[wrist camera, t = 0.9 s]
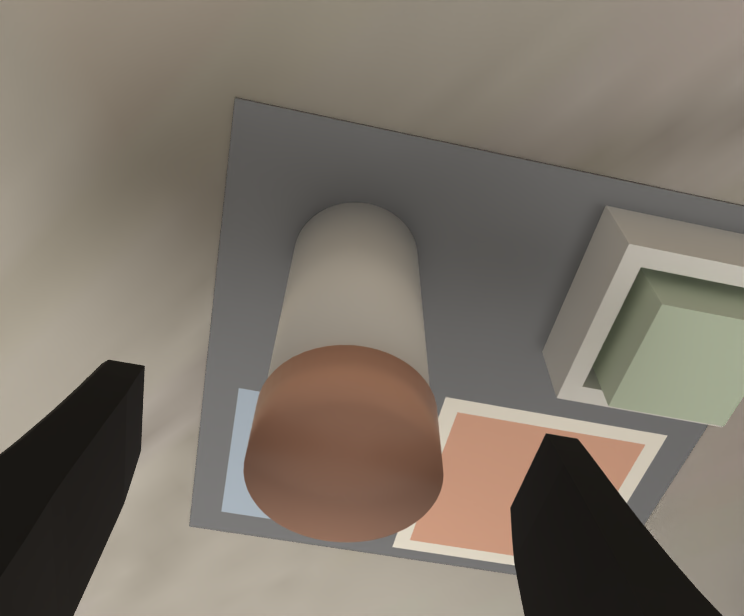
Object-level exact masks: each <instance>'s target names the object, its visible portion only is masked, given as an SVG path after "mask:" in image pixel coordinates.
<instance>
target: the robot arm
mask: <svg viewBox="0 0 744 616" xmlns="http://www.w3.org/2000/svg"><path fill="white" fill-rule="evenodd" d="M144 369H145V366H143V365H137V364H131V363H125V362H119V361H113V360H107V361H106V362H104V363H102V364H101V365H100V366H99V367H98V368H97V369H96V370H95V371H94V372H93V373H92V374H91V375H90V376H89V377H88V378H87V379H86V380H85V381H84V382H83V383H82V384H81V385H80V386H79V387H77V388H76V389H75V390H74V391H73V392H72V393H71V394H70V395H69V396H68V397H67V398H66V399H65V400H63V401H62V402H61V403H60V404H59V405H58V406H57V407H56V408H55V409H54V410H52V411H51V412H50V413H49V414H48V415H47V416H46V417H44V418H43V419H42V420H41V421H40V422H39V423H37V424H36V425H35V426H34V427H33V428H32V429H30V430H29V431H28V432H27V433H26V434H25V435H23V436H22V437H21V438H20V439H19V440H17V441H16V442H15V443H14V444H13V445H11V446H10V447H9V448H7V449H6V450H5V451H4V452H2V453H1V454H0V616H73V615H74V613H75V611H76V609H77V607H78V604H79V602H80V600H81V598H82V596H83V594H84V591H85V589H86V587H87V585H88V583H89V580H90V578H91V576H92V574H93V572H94V569H95V567H96V565H97V563H98V561H99V558H100V556H101V554H102V552H103V550H104V547H105V545H106V543H107V541H108V539H109V536H110V534H111V532H112V530H113V527H114V525H115V523H116V521H117V519H118V516H119V514H120V512H121V509H122V507H123V505H124V502H125V499H126V496H127V493H128V490H129V487H130V484H131V481H132V478H133V474H134V471H135V468H136V465H137V462H138V458H139V455H140V452H141V437H142V414H143V392H144ZM510 513H511V530H512V544H513V556H514V564H515V569H516V575H517V580H518V585H519V590H520V595H521V600H522V605H523V610H524V614H525V616H722V615H721V614H720V613H719V612H718V610H717V609H716V608H715V607H714V606H713V605H712V604H711V603H710V602H709V601H708V600H707V599H706V598H705V597H704V596H703V595H702V594H701V592H700V591H699V590H698V589H697V588H696V587H695V586H694V585H693V583H692V582H691V581H690V580H689V579H688V578H687V577H686V575H685V574H684V573H683V572H682V571H681V570H680V568H679V567H678V566H677V565H676V564H675V563H674V562H673V560H672V559H671V558H670V557H669V556H668V554H667V553H666V552H665V551H664V550H663V548H662V547H661V546H660V545H659V544H658V542H657V541H656V540H655V539H654V537H653V536H652V535H651V534H650V532H649V531H648V530H647V529H646V527H645V526H644V525H643V524H642V522H641V521H640V520H639V518H638V517H637V516H636V515H635V513H634V512H633V511H632V509H631V508H630V507H629V505H628V504H627V503H626V502H625V500H624V499H623V498H622V496H621V495H620V494H619V492H618V491H617V490H616V488H615V487H614V486H613V484H612V483H611V482H610V480H609V479H608V478H607V476H606V475H605V474H604V472H603V471H602V470H601V468H600V467H599V465H598V464H597V463H596V461H595V460H594V459H593V458H592V456H591V455H590V454H589V452H588V451H587V450H586V448H585V447H584V446H583V445H582V443H581V442H580V441H579V440H578V439H577V438H571V437H565V436H559V435H553V434H547V433H546V434H545V436H544V438H543V440H542V442H541V444H540V447H539V449H538V451H537V453H536V455H535V457H534V459H533V461H532V463H531V465H530V468H529V470H528V472H527V474H526V476H525V478H524V480H523V482H522V484H521V486H520V488H519V491H518V493H517V495H516V497H515V499H514V501H513V503H512V505H511V507H510Z"/></svg>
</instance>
